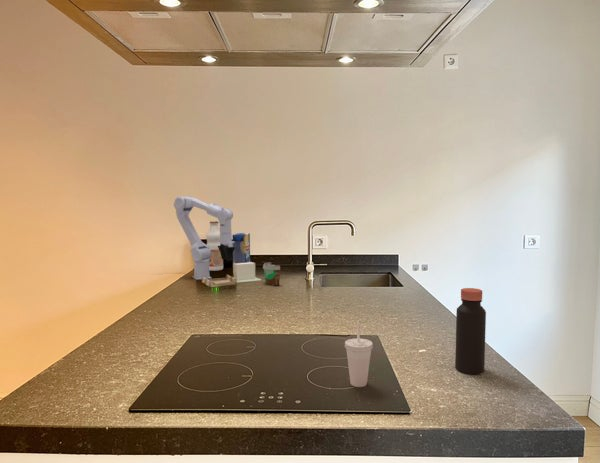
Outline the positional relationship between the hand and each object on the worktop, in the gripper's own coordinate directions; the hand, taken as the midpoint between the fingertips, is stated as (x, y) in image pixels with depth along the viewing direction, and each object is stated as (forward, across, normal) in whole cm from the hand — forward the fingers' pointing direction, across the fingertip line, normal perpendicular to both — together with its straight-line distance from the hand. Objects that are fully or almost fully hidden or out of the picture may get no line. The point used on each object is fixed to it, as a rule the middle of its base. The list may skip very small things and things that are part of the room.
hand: (226, 260), depth 230 cm
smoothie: (+12, -135, +14) cm, 137 cm away
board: (+10, -4, -8) cm, 14 cm away
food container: (+11, -21, -14) cm, 27 cm away
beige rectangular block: (+10, -4, -8) cm, 13 cm away
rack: (+10, -7, +7) cm, 14 cm away
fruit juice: (+10, +36, -5) cm, 37 cm away
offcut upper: (+10, -11, +6) cm, 16 cm away
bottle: (+12, -142, -15) cm, 143 cm away
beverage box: (+10, +12, -12) cm, 21 cm away
